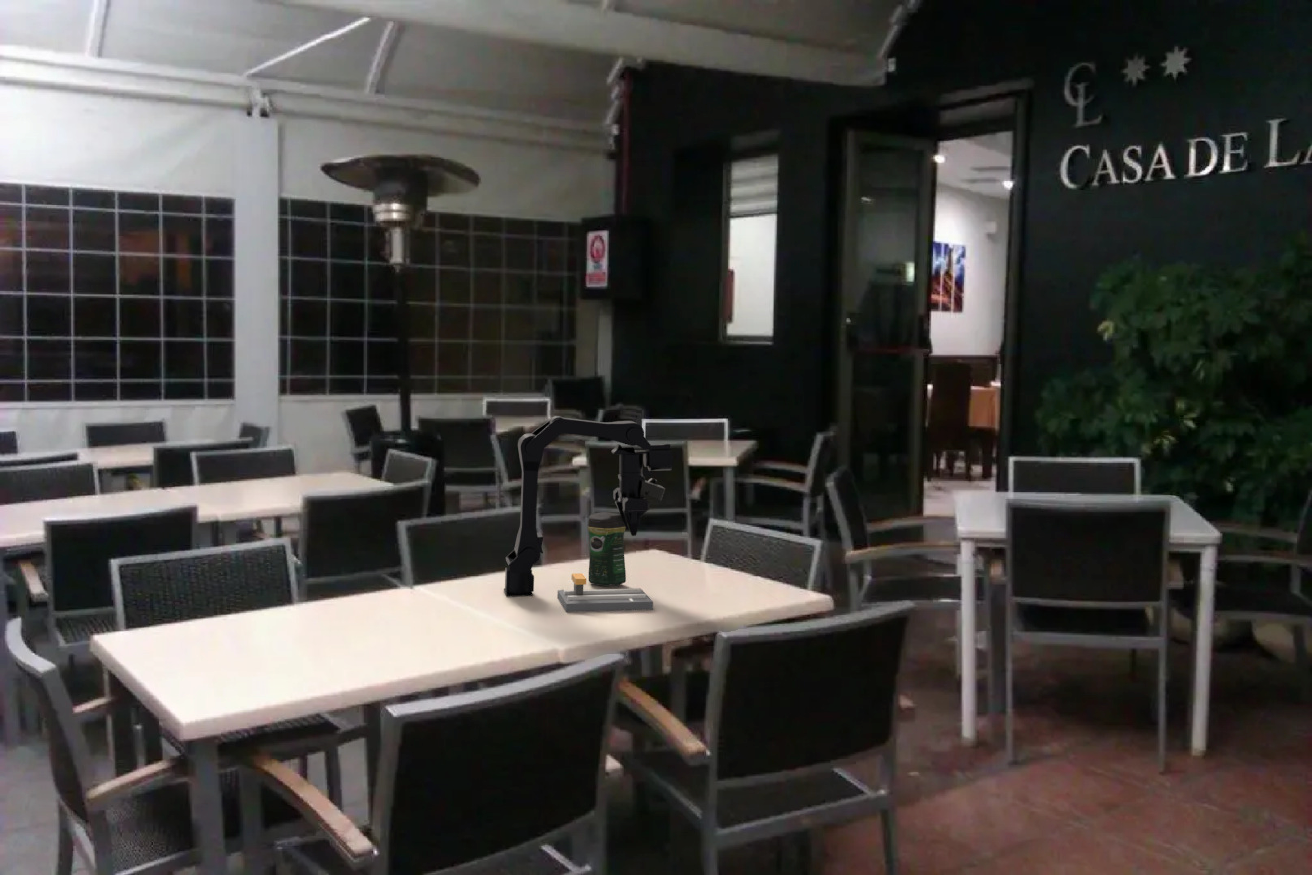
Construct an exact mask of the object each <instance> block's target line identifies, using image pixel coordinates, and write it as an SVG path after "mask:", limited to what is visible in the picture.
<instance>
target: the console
mask: <svg viewBox="0 0 1312 875" xmlns="http://www.w3.org/2000/svg"><path fill="white" fill-rule="evenodd" d="M557 600H558V602H559V603H560V604H561V607H562V608H563V610H564V611H565V612H566V613H579V612H580V613H584V612H585V613H587V612H589V613H591V612H617V611H618V612H621V611H653V610H654V600H653V599H651V597H650V596H649V595H648V594H647V593H645V591H644V590H643V589H642V588H640V587H639V588H638V587H637V588H608V589H607V588H604V589H602V588H600V589H598V588H595V589H583V595H576V596H574V589H559V590H558V589H557Z"/></svg>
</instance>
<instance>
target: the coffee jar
mask: <svg viewBox="0 0 1312 875" xmlns="http://www.w3.org/2000/svg"><path fill="white" fill-rule="evenodd" d="M587 530H588V534H589V558H588V560H589V561H588V563H589V564H588V583H590V584H591V585H592V584H593V585H595V586H596V585H597V586H604V587H605V586H607V587H609V586H615V587H616V586H620V585H623V584H624V583H626V582H627V576H626V575H627V574H626V573H627V572H626V560H625V548H624V547H625V545H624V537H625V531H626V528H625V525H624V523H623V520H622V517H621V515H620V513H613V512H608V511H607V512H605V511H603V512H595V513H591V514H590V515H589V516H588V522H587Z"/></svg>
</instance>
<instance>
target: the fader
mask: <svg viewBox="0 0 1312 875" xmlns="http://www.w3.org/2000/svg"><path fill="white" fill-rule="evenodd" d="M571 580H572V582H573V590H574V596H576V595H583V590H584V585H587V577H586V576H585V575H584V574H583V573H582V572H580V573H575V572H574V573H571Z"/></svg>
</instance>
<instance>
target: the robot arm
mask: <svg viewBox="0 0 1312 875" xmlns="http://www.w3.org/2000/svg"><path fill="white" fill-rule="evenodd" d="M561 434H567V435H577V436H585V437H586V436H587V437H594V438H603V439H609V440H611V441H615V442H617V444H616V446H615V447H614V448H613V449H611V453H612V454H613V455H619V474H617V477H618V478H617V479H619V487H616V488H615V489H614V490H613V491H612V492H613V493H612V494H613V495H612V496H613V500H614V502H615V505H616V507H617V508H616V509H617V510H618V512H619V513H618V514H620V515H621V517H622V520H623V523H624V525H625V530H629V533H630V534H631V536H632V537H636V536H637V533H638V529H639V525H640V522H641V518H642V516H643V515H645V513H648V511H649V510H650V509H651V508H650V506H651V505H650V501H649V500H648V499H647V498H646V496H649V497H653V498H655V499H656V500H658V501H662V500H663V497H664V494H665V491H666V488H665V487H663V486H662V485H660V484H659V483H658V480H657V479H655V478H652V477H651V478H649V479H648V480H646V477H645V476H644V475H643V466H644V468H647V470H648V471H649V472H652V471H653V472H654V471H656V472H657V471H672V469H673V465H674V457H673V454H672V450H671V444H670V443H668V442H667V443H665V442H664V443H660V444H659V443H657V444H656V443H654V444H650V442H649V441H648V439H646V437H645V431H644V428H643V426H642V425H640V424H639V423H637V422H635V421H633V420H617V421H612V422H611V421H609V422H602V421H596V420H588V419H579V418H578V419H577V418H569V417H562V416H559V415H554V416H553V417H551V418H550V419H549V420H548V421H547V422H545V423H544V424H543V425H541V426H539V427H537V428H536V429H535V430H534V431H533V432H531V433H530V432H529V433H525V434H523V435H521V437H519V439H518V440H517V448H518V455H519V462H520V468H521V489H520V490H521V491H520V492H521V494H520V520H519V521H520V523H519V529H518V532H517V535H516V540H515V545H514V548H513V550H512V551H511V552H510V553H509V554H508V555H507V556H505V561H506V565H507V566H508V567H505V570H504V572H505V573H504V574H505V576H504V588H503V591H504V594H505V596H506V597H528V596H529V597H530V596H531V597H532V596H533V593H534V591H535V575H534V574H533V569H532V568H533V565H535V564H537V562H538V561H539V560H540V558H541V554H544V551H543V547H542V546H543V541H544V536H543V535H542V533H541V532H540V531H539V532H538V531H537V510H538V509H537V506H538V505H537V503H538V483H539V482H538V481H539V480H538V476H539V471H540V466H541V463H542V460H543V457H544V450H545V448H546V447H548V446H549V445H550V444H551V443H552V442H553V441H554V440H555V439H556V438H558V436H560V435H561ZM619 443H620V444H619ZM621 444H624V445H627V446H622V445H621ZM635 446H637V447H639V448H640V449H638V450H637V449H635V448H634V447H635ZM641 449H642V450H641Z"/></svg>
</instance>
